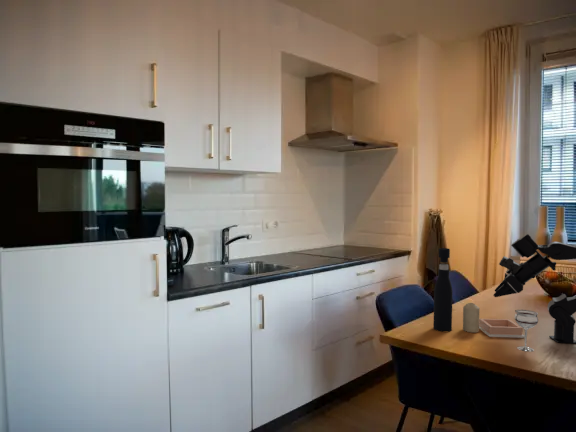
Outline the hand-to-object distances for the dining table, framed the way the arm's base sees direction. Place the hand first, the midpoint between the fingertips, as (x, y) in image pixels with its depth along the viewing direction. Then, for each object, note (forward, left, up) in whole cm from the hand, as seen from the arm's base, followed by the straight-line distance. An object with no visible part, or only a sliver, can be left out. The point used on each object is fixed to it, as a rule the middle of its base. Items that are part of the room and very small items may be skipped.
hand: (494, 293), depth 161 cm
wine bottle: (+1, +18, -14) cm, 23 cm away
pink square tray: (0, -2, -14) cm, 14 cm away
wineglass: (-18, -3, -14) cm, 23 cm away
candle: (+1, +8, -14) cm, 16 cm away
